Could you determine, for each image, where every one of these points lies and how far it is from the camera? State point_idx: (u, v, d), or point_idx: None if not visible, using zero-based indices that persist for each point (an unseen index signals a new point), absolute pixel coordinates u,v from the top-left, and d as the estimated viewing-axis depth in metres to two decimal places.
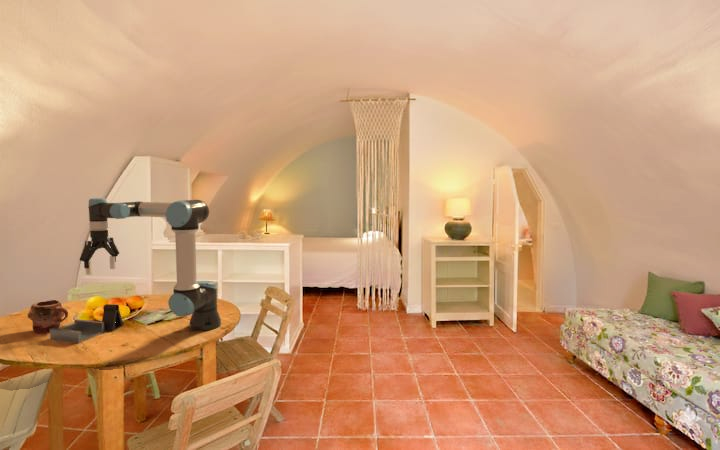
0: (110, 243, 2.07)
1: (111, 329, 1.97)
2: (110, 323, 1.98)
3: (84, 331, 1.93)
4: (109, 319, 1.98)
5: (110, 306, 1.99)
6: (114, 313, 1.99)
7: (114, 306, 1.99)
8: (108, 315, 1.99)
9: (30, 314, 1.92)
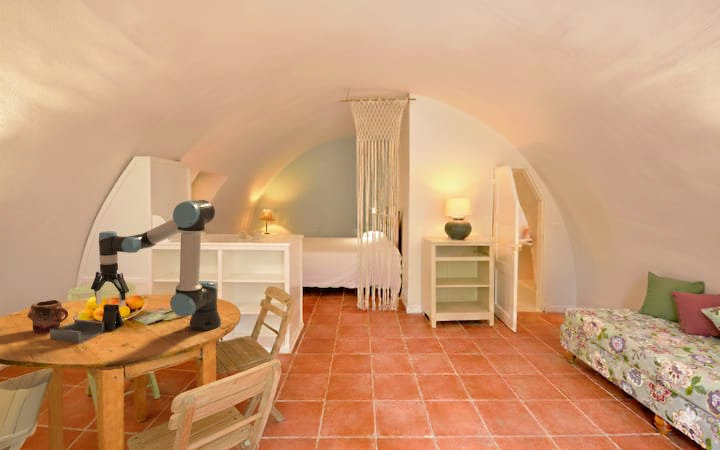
0: None
1: (111, 329, 1.97)
2: (110, 323, 1.98)
3: (84, 331, 1.93)
4: (109, 319, 1.98)
5: (110, 306, 1.99)
6: (114, 313, 1.99)
7: (114, 306, 1.99)
8: (108, 315, 1.99)
9: (30, 314, 1.92)
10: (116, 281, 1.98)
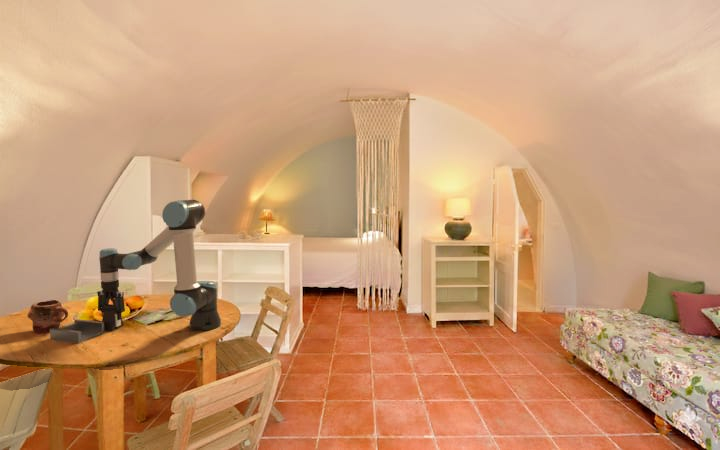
0: None
1: (111, 329, 1.97)
2: (110, 323, 1.98)
3: (84, 331, 1.93)
4: (109, 319, 1.98)
5: (110, 306, 1.99)
6: (114, 313, 1.99)
7: None
8: (108, 315, 1.99)
9: (30, 314, 1.92)
10: (115, 299, 1.99)
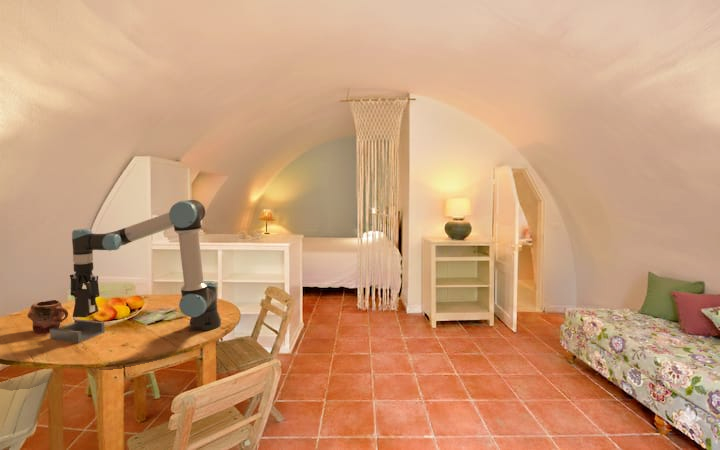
0: None
1: (84, 315, 1.84)
2: (83, 309, 1.85)
3: (84, 331, 1.93)
4: (82, 304, 1.85)
5: (83, 290, 1.86)
6: None
7: None
8: (81, 300, 1.86)
9: (30, 314, 1.92)
10: (89, 284, 1.86)
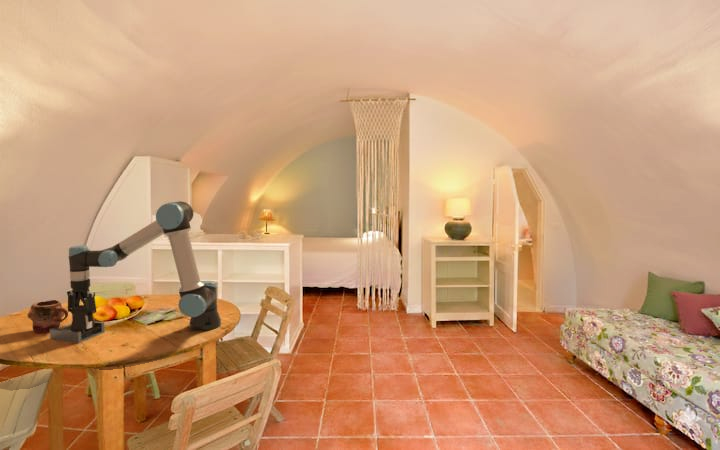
0: None
1: (81, 331, 1.85)
2: (80, 325, 1.86)
3: None
4: (79, 321, 1.87)
5: (80, 307, 1.88)
6: (85, 314, 1.87)
7: None
8: (78, 316, 1.87)
9: (30, 314, 1.92)
10: (86, 300, 1.88)
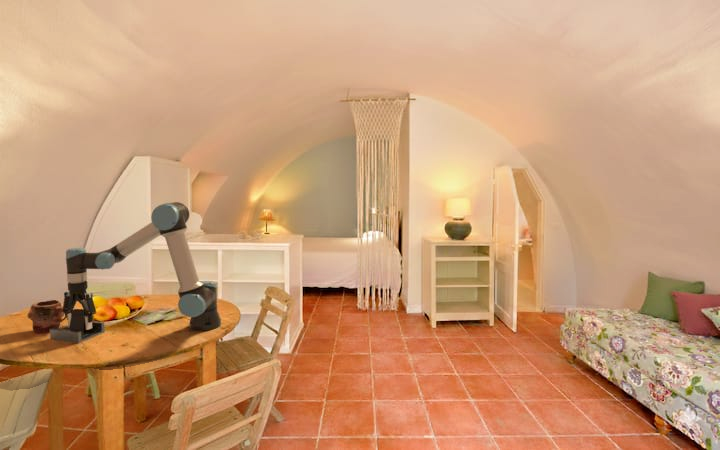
0: None
1: None
2: (78, 329, 1.87)
3: None
4: (77, 325, 1.87)
5: (78, 311, 1.88)
6: (82, 318, 1.88)
7: (82, 311, 1.88)
8: (76, 320, 1.88)
9: (30, 314, 1.92)
10: (84, 301, 1.88)
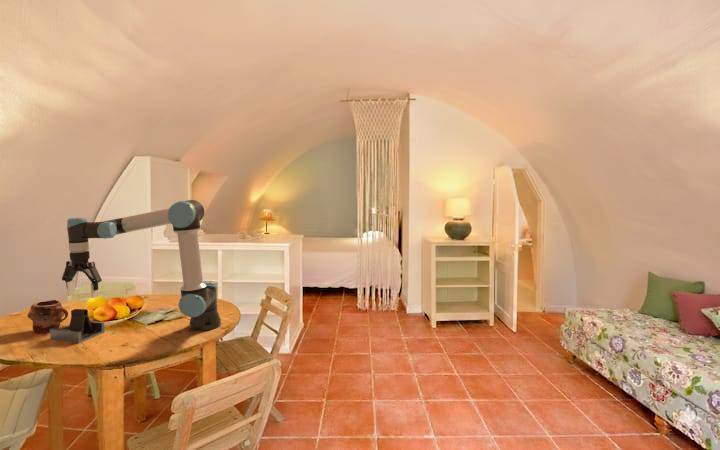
0: None
1: None
2: (78, 329, 1.87)
3: None
4: (77, 325, 1.87)
5: (78, 311, 1.88)
6: (82, 318, 1.88)
7: (82, 311, 1.88)
8: (76, 320, 1.88)
9: (30, 314, 1.92)
10: (88, 270, 1.86)
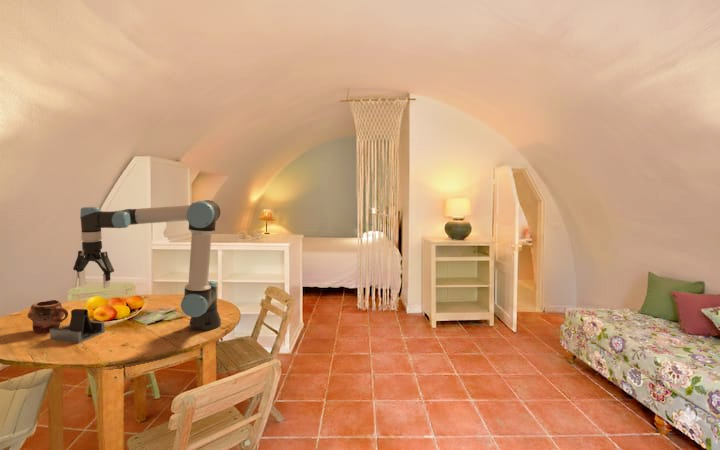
0: None
1: None
2: (78, 329, 1.87)
3: None
4: (77, 325, 1.87)
5: (78, 311, 1.88)
6: (82, 318, 1.88)
7: (82, 311, 1.88)
8: (76, 320, 1.88)
9: (30, 314, 1.92)
10: (100, 260, 1.83)
